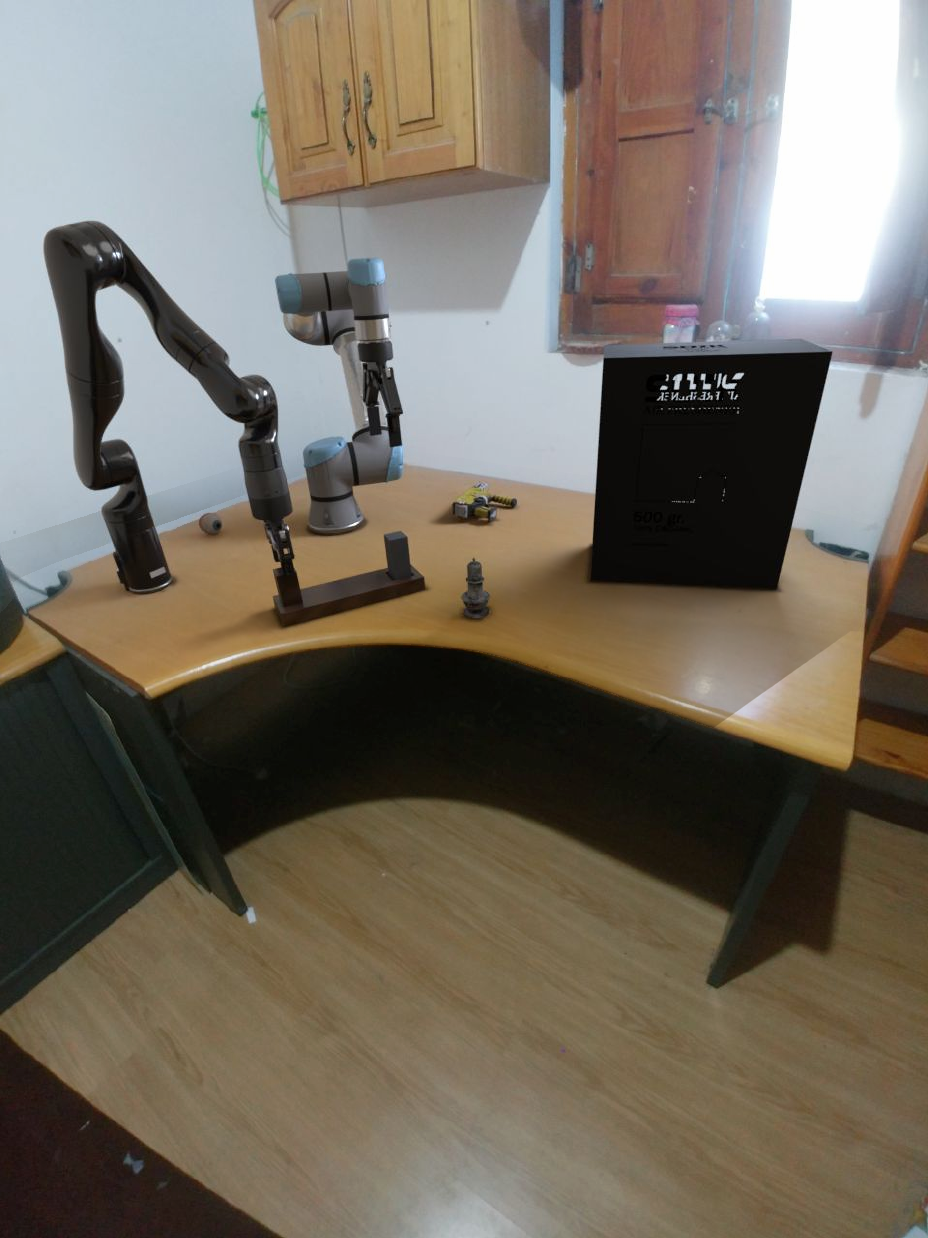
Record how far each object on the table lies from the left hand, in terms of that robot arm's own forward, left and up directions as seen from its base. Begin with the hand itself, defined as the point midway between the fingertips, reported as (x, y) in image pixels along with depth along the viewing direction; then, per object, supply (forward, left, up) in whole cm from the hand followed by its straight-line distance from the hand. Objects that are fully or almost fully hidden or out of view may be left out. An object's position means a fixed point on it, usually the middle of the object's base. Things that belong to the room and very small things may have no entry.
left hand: (284, 568), depth 121 cm
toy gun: (+37, +61, -10) cm, 72 cm away
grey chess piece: (+38, 0, -10) cm, 40 cm away
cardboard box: (+82, +22, -10) cm, 85 cm away
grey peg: (+20, +12, -10) cm, 26 cm away
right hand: (+15, +35, +16) cm, 41 cm away
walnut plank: (+10, +6, -10) cm, 16 cm away
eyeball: (-39, +44, -10) cm, 60 cm away
